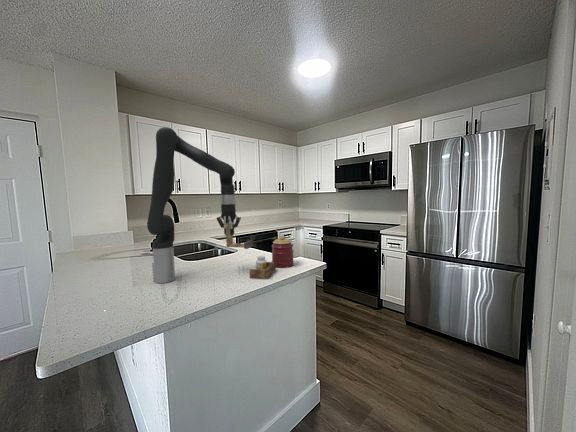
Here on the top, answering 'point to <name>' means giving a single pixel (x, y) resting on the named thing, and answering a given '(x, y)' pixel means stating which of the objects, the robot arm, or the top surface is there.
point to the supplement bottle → (261, 262)
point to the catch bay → (263, 271)
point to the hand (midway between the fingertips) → (229, 235)
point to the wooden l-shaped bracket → (230, 239)
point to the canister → (282, 252)
